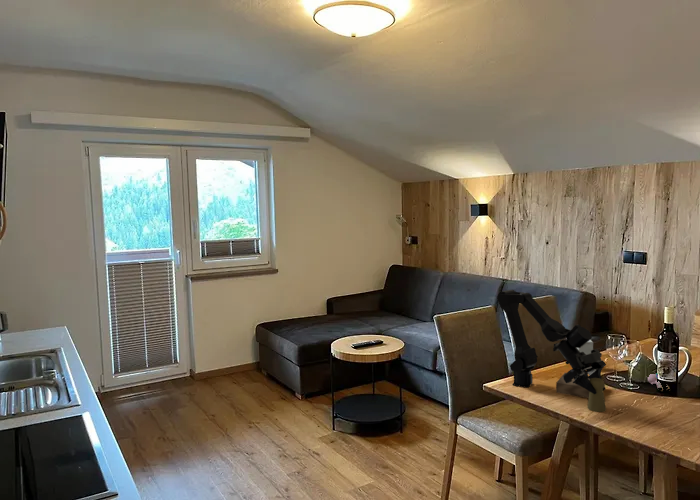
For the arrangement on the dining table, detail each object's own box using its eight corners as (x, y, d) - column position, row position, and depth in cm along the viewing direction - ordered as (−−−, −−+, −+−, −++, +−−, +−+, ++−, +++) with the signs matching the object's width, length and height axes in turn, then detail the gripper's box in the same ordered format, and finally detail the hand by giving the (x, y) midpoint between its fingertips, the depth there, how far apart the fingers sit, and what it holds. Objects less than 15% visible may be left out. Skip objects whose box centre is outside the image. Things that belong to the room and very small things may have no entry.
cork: (608, 412, 181) (608, 381, 180) (589, 411, 182) (589, 381, 181) (603, 405, 187) (603, 376, 186) (585, 405, 188) (585, 375, 187)
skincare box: (578, 368, 229) (578, 341, 228) (576, 365, 233) (576, 339, 232) (593, 368, 228) (593, 341, 227) (590, 365, 232) (590, 339, 231)
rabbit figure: (673, 394, 198) (653, 375, 213) (675, 380, 197) (654, 362, 211) (656, 394, 198) (637, 376, 213) (658, 381, 197) (639, 362, 211)
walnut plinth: (556, 392, 201) (556, 382, 201) (564, 381, 213) (564, 372, 212) (595, 399, 193) (595, 388, 193) (602, 387, 204) (602, 377, 204)
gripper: (570, 347, 181) (600, 386, 173) (601, 338, 191) (630, 374, 183) (551, 364, 188) (578, 402, 180) (581, 354, 198) (609, 390, 190)
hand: (600, 391), depth 183 cm, fingers closed on cork, 5 cm apart
